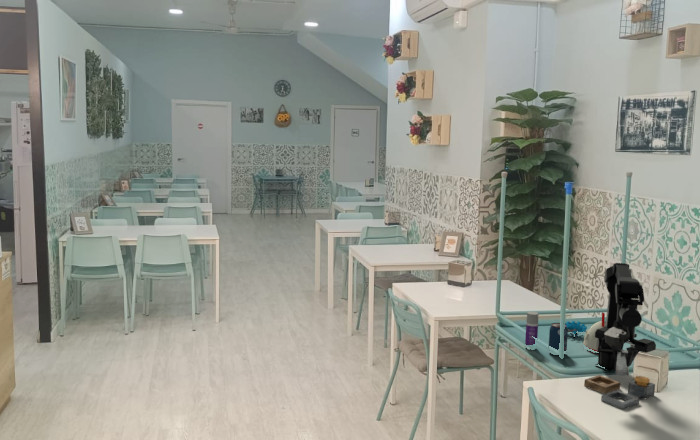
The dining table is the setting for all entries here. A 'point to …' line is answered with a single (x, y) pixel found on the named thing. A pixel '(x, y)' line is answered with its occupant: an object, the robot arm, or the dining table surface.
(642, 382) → the plunger
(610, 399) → the socket block
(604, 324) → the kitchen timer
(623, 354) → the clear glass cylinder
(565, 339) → the soda can
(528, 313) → the container
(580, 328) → the blue irregular lump
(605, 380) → the brown wooden tray
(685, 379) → the dining table surface
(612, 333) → the robot arm
